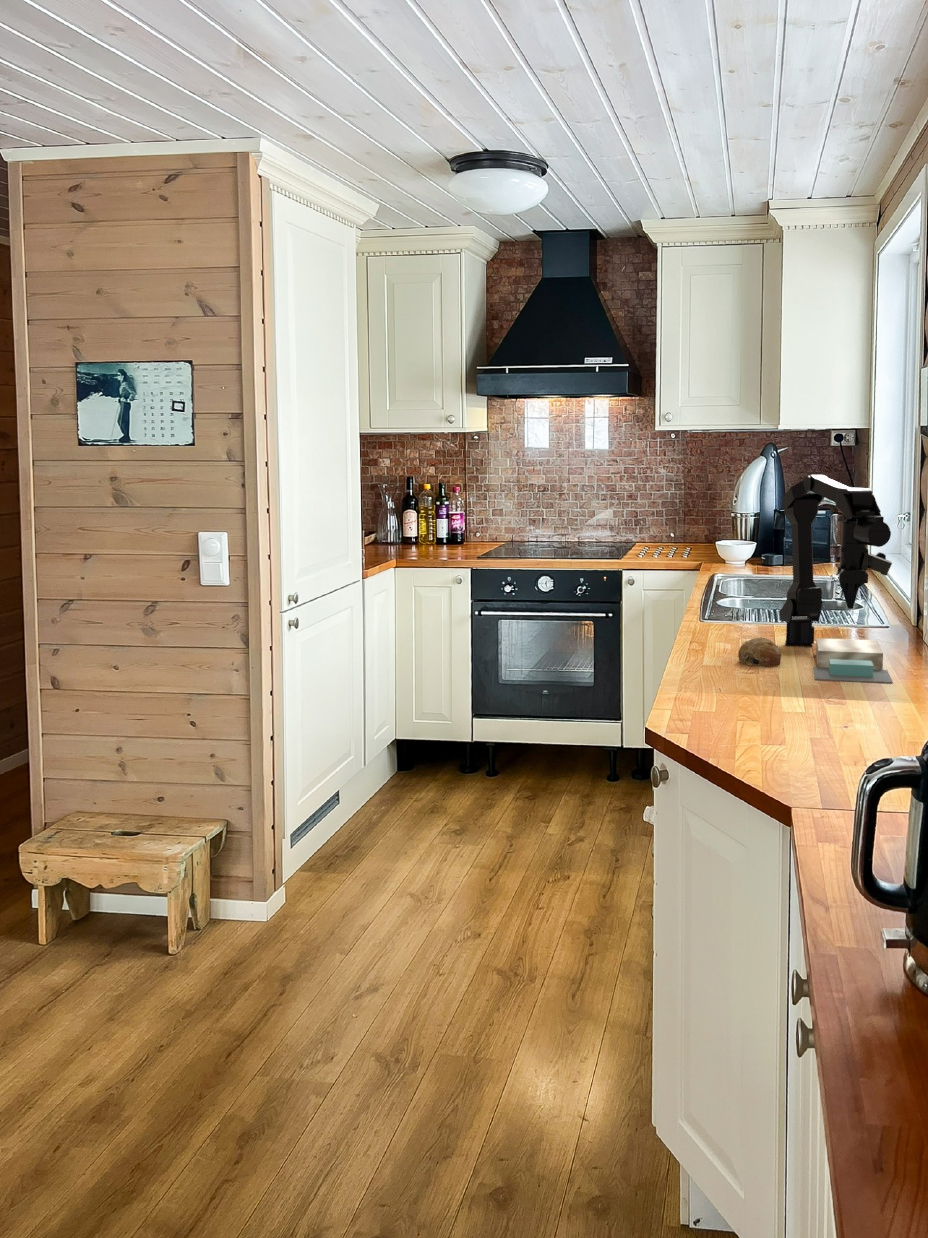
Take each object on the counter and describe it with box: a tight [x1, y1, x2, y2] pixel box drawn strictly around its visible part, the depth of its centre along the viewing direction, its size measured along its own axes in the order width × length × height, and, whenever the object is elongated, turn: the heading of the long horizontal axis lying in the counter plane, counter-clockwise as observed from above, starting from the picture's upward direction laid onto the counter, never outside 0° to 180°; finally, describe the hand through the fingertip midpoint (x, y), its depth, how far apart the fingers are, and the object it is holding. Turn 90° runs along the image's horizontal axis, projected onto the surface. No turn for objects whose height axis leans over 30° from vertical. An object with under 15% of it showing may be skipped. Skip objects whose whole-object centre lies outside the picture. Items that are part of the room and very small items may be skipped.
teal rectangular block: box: [829, 659, 873, 677], centre depth 257 cm, size 9×6×2 cm, turn 75°
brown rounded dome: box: [737, 636, 782, 668], centre depth 272 cm, size 10×10×8 cm
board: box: [815, 637, 884, 670], centre depth 272 cm, size 14×18×4 cm
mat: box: [812, 666, 893, 684], centre depth 256 cm, size 16×14×1 cm
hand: (850, 608), depth 272 cm, fingers closed
